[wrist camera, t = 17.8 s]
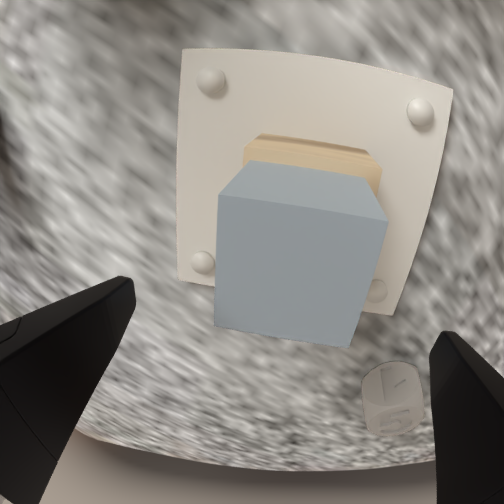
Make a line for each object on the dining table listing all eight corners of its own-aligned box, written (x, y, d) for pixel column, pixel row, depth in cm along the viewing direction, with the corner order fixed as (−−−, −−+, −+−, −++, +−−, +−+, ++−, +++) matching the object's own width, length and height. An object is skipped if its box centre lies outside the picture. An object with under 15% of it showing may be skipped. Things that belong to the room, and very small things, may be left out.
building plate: (188, 50, 17) (179, 47, 16) (447, 89, 15) (456, 89, 14) (182, 272, 25) (175, 283, 23) (390, 307, 23) (393, 319, 21)
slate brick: (249, 159, 14) (218, 194, 9) (364, 177, 13) (388, 221, 9) (241, 260, 16) (214, 325, 12) (342, 276, 16) (348, 348, 11)
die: (413, 354, 25) (424, 398, 20) (417, 387, 26) (425, 428, 22) (359, 368, 26) (362, 413, 22) (368, 399, 28) (370, 441, 24)
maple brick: (261, 133, 18) (244, 146, 13) (365, 149, 17) (382, 169, 13) (252, 227, 21) (234, 267, 16) (345, 243, 20) (353, 286, 16)
